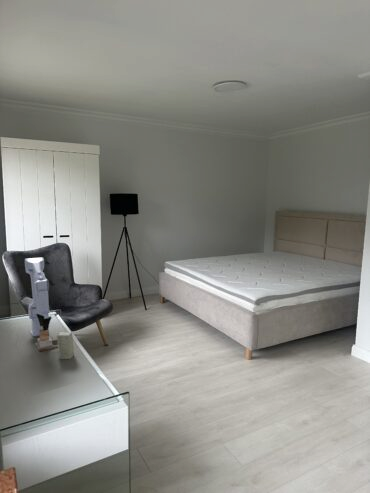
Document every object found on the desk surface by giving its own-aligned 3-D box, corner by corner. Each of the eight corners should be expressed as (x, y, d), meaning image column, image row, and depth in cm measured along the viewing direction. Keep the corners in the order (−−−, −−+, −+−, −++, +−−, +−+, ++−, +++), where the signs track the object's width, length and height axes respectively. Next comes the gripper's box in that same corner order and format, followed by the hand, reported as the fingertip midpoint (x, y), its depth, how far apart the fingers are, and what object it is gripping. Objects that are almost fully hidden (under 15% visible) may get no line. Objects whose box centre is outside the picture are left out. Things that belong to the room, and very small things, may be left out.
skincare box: (74, 355, 170) (73, 331, 168) (70, 359, 165) (69, 335, 164) (62, 354, 170) (60, 331, 169) (57, 358, 166) (56, 334, 164)
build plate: (35, 344, 182) (34, 337, 181) (56, 340, 188) (56, 333, 188) (39, 351, 174) (38, 344, 173) (61, 346, 180) (61, 339, 180)
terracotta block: (39, 338, 180) (39, 329, 179) (47, 337, 182) (47, 328, 182) (41, 341, 177) (40, 332, 176) (49, 339, 179) (48, 330, 178)
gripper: (31, 300, 181) (33, 325, 183) (37, 307, 169) (39, 333, 171) (45, 298, 185) (46, 322, 187) (52, 305, 173) (53, 330, 175)
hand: (44, 327), depth 179 cm, fingers open, 7 cm apart
